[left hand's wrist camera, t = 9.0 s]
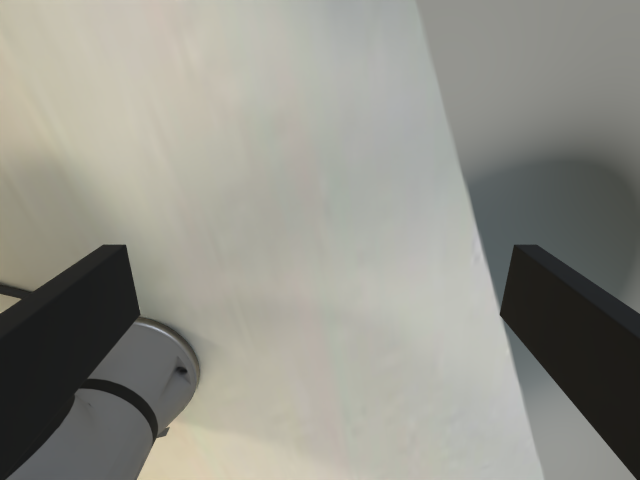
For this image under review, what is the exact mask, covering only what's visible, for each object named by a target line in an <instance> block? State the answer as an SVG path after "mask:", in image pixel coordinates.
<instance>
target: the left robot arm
mask: <svg viewBox="0 0 640 480" xmlns="http://www.w3.org/2000/svg"><path fill="white" fill-rule="evenodd" d="M0 294H4V295H8V296H12V297H17V298H20V299H22V300H20V301H19V302H17V303H16V304H14V305H13V306H11V307H10V308H8V309H7V310H5V311H4V312H2V313H1V314H0V480H137V478H138V476H139V473H140V471H141V469H142V467H143V465H144V463H145V461H146V459H147V457H148V455H149V453H150V450H151V448H152V446H153V444H154V442H155V440H156V438H159V437H163V436H166V434H167V432H168V430H169V428H170V427H168V428H166V427H167V426H168V425H169V424H170V423H171V422H172V421H173V420H174V419H175V418H176V417H177V416H178V415H179V414H180V413H181V411H182V410H183V409H184V408H185V407H186V406H187V404H188V403H189V401H190V400H191V398H192V396H193V394H194V392H195V390H196V387H197V385H198V381H199V365H198V361H197V358H196V356H195V354H194V352H193V350H192V349H191V347H190V346H189V344H188V343H187V342H186V341H185V340H184V339H183V338H182V337H181V336H180V335H179V334H177V333H176V332H175V331H173V330H172V329H170V328H169V327H167V326H165V325H163V324H161V323H158V322H156V321H153V320H149V319H146V318H140V317H139V316H140V310H139V306H138V301H137V296H136V291H135V286H134V282H133V277H132V272H131V267H130V262H129V257H128V253H127V248H126V245H102V246H101V247H99V248H98V249H96V250H95V251H93V252H92V253H90V254H89V255H87V256H86V257H84V258H83V259H81V260H80V261H78V262H77V263H75V264H74V265H72V266H71V267H69V268H68V269H66V270H65V271H63V272H62V273H60V274H59V275H58V276H56V277H55V278H53V279H52V280H50V281H49V282H47V283H46V284H44V285H43V286H41V287H40V288H38V289H37V290H35V291H34V292H32V293H30V292H27V291H24V290H20V289H15V288H11V287H7V286H3V285H0ZM500 316H501V317H502V318H503V319H504V321H505V322H506V323H507V324H508V325H509V327H510V328H511V329H512V330H513V331H514V333H515V334H516V335H517V336H518V337H519V339H520V340H521V341H522V342H523V343H524V345H525V346H526V347H527V348H528V349H529V351H530V352H531V353H532V354H533V355H534V357H535V358H536V359H537V360H538V361H539V363H540V364H541V365H542V366H543V368H544V369H545V370H546V371H547V372H548V374H549V375H550V376H551V377H552V378H553V379H554V381H555V382H556V383H557V384H558V385H559V387H560V388H561V389H562V390H563V392H564V393H565V394H566V395H567V396H568V398H569V399H570V400H571V401H572V402H573V404H574V405H575V406H576V407H577V408H578V409H579V411H580V412H581V413H582V414H583V416H584V417H585V418H586V419H587V420H588V422H589V423H590V424H591V425H592V426H593V427H594V429H595V430H596V431H597V432H598V434H599V435H600V436H601V437H602V438H603V440H604V441H605V442H606V443H607V444H608V446H609V447H610V448H611V449H612V450H613V452H614V453H615V454H616V455H617V456H618V458H619V459H620V460H621V461H622V462H623V464H624V465H625V466H626V467H627V468H628V470H629V471H630V472H631V473H632V474H633V476H634V477H635V478H636V479H637V480H640V314H639V313H638V312H636V311H635V310H633V309H632V308H630V307H629V306H627V305H626V304H624V303H623V302H621V301H620V300H618V299H617V298H615V297H614V296H612V295H611V294H609V293H608V292H606V291H605V290H603V289H602V288H600V287H599V286H597V285H596V284H594V283H593V282H591V281H590V280H588V279H587V278H585V277H584V276H582V275H581V274H580V273H578V272H577V271H575V270H574V269H572V268H571V267H569V266H568V265H566V264H565V263H563V262H562V261H560V260H559V259H557V258H556V257H554V256H553V255H551V254H550V253H548V252H547V251H545V250H544V249H542V248H541V247H539V246H538V245H514V248H513V253H512V258H511V262H510V267H509V272H508V277H507V282H506V286H505V291H504V296H503V301H502V306H501V310H500Z"/></svg>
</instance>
